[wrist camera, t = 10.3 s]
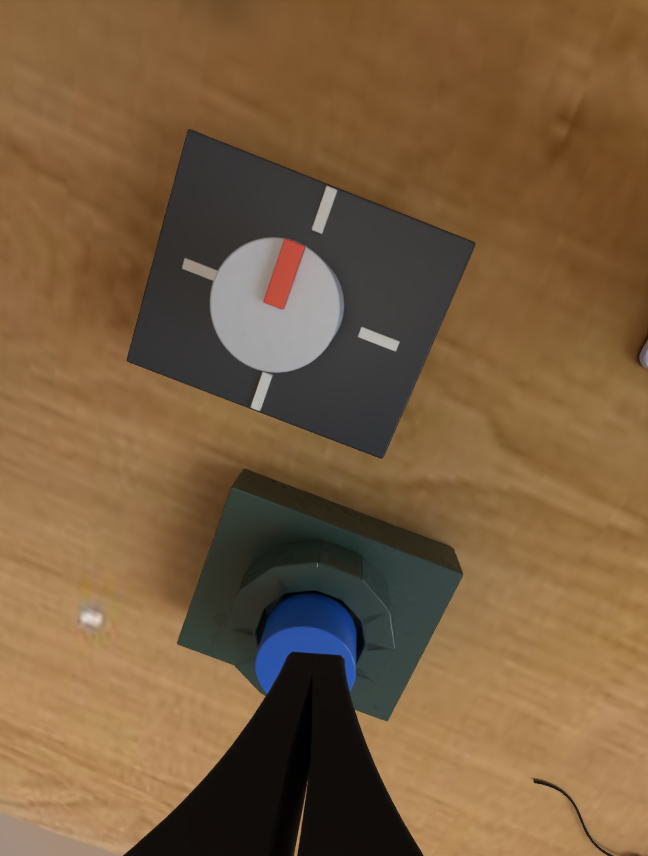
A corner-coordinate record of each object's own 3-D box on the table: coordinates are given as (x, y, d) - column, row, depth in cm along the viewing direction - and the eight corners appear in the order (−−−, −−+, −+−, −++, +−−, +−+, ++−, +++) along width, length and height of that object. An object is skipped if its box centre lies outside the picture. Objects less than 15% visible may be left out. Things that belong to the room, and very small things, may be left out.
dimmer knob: (321, 373, 18) (311, 393, 14) (226, 335, 17) (189, 346, 14) (360, 272, 17) (360, 266, 13) (259, 232, 17) (229, 213, 13)
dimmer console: (459, 250, 19) (477, 241, 16) (379, 437, 21) (383, 461, 18) (214, 153, 19) (185, 125, 16) (157, 352, 21) (123, 362, 18)
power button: (370, 611, 19) (371, 648, 17) (336, 683, 20) (334, 725, 18) (283, 579, 19) (274, 612, 17) (253, 652, 20) (241, 691, 18)
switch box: (454, 548, 22) (474, 600, 18) (385, 685, 24) (390, 758, 20) (243, 468, 22) (219, 504, 18) (192, 614, 24) (160, 674, 20)
